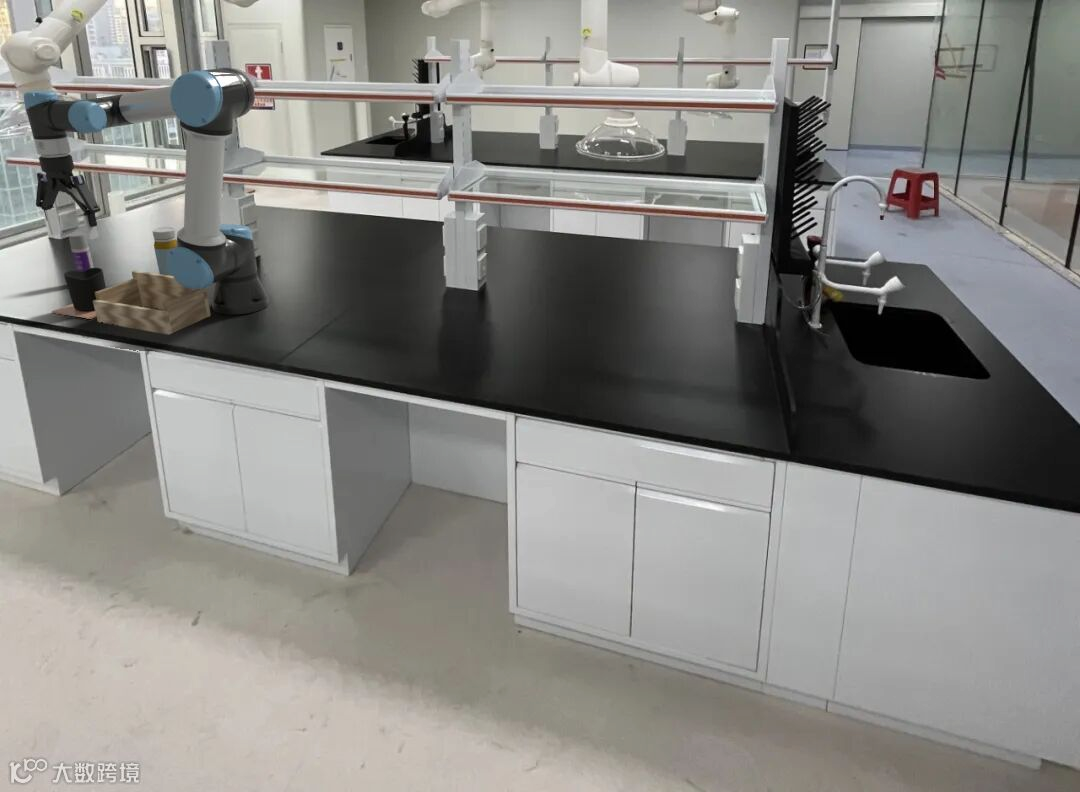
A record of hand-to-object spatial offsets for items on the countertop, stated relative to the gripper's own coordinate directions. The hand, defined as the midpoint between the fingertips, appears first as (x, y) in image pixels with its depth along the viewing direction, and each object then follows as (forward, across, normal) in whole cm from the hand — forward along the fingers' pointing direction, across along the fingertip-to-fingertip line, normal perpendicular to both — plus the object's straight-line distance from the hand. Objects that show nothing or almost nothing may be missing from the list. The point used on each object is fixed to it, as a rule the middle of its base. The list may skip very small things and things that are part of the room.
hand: (75, 236), depth 217 cm
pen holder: (+20, 0, 0) cm, 20 cm away
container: (+21, -21, +17) cm, 34 cm away
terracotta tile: (+21, 0, 0) cm, 21 cm away
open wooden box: (+21, +22, 0) cm, 30 cm away
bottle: (+21, -1, +32) cm, 38 cm away
